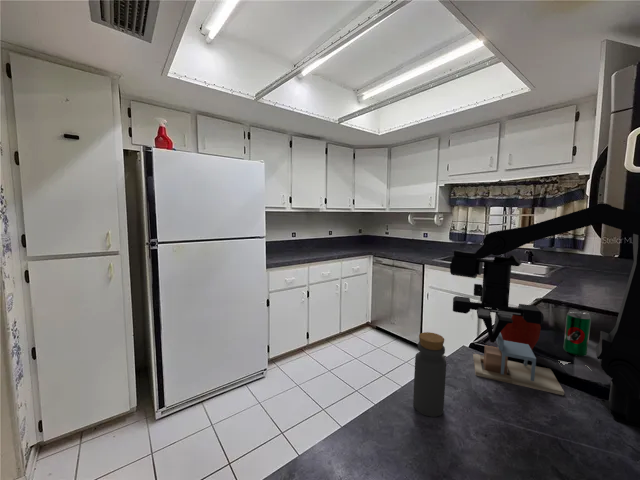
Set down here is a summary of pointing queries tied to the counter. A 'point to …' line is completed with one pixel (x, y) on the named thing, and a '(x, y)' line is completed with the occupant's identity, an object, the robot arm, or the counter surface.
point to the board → (521, 375)
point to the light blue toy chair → (516, 353)
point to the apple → (521, 331)
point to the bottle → (430, 375)
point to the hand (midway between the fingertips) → (491, 341)
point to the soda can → (577, 332)
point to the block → (494, 359)
